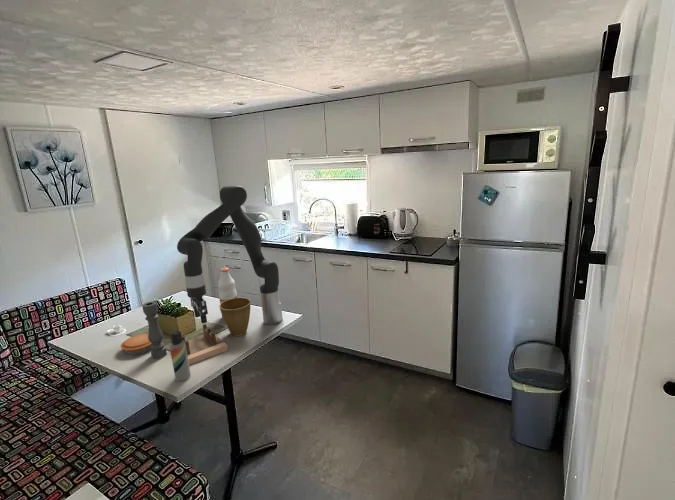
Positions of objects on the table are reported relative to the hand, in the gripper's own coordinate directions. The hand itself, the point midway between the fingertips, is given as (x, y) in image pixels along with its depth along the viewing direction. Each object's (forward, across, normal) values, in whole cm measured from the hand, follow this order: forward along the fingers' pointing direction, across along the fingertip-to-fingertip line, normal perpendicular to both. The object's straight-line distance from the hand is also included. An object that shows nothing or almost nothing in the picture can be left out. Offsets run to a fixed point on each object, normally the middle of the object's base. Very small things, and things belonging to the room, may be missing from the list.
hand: (201, 319), depth 156 cm
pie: (+18, +30, +21) cm, 41 cm away
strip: (+18, 0, 0) cm, 18 cm away
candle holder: (+18, +16, +16) cm, 29 cm away
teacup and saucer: (+18, +61, +27) cm, 69 cm away
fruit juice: (+18, +33, -25) cm, 45 cm away
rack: (+18, +12, 0) cm, 21 cm away
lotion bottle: (+18, -10, +13) cm, 24 cm away
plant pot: (+18, +11, -20) cm, 29 cm away
